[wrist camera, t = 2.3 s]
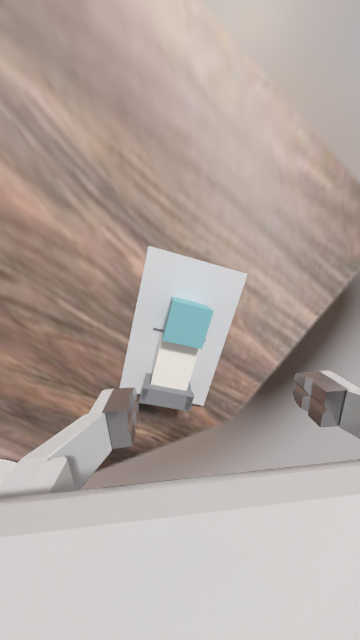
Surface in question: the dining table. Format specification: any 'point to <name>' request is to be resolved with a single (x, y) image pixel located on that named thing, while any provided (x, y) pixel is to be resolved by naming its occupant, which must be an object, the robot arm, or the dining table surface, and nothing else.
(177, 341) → the stub
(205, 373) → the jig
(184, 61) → the dining table surface
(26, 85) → the dining table surface
